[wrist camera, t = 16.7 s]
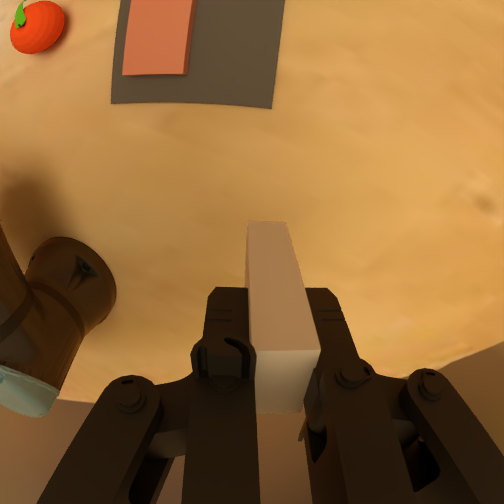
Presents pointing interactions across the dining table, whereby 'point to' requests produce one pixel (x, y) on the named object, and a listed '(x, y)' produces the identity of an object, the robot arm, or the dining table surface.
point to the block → (158, 37)
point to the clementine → (36, 26)
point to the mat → (212, 57)
